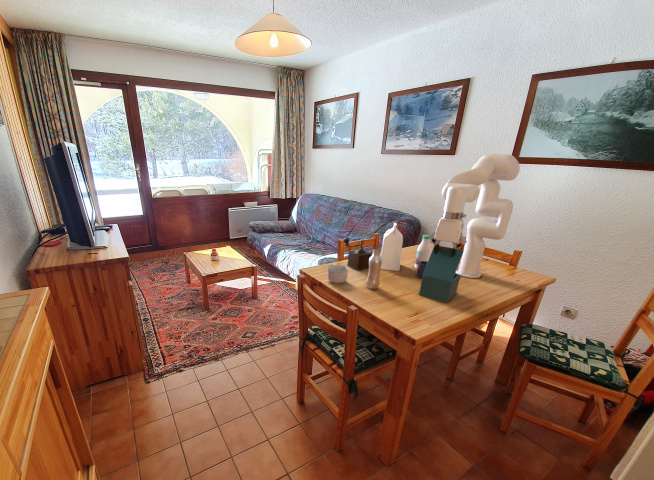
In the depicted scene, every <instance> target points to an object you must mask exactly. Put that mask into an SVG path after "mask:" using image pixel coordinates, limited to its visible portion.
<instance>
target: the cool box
mask: <svg viewBox="0 0 654 480" xmlns="http://www.w3.org/2000/svg"><path fill="white" fill-rule="evenodd" d="M461 277H462V276H461V275H460V274H456V273H455V275H454V278H453V280H452V283H451V282H447V281H443V280H439V279H435V278H431V277H427V276H423V278H421V283H420V288H419V296H422V297H426V298H429V299H433V300H436V301H440V302H443V303H446V304H447V303H449V301H450V300H451V299H452V298H453V297H454V296H455V295H456V294H457V291H458V288H459V284H460V279H461Z"/></svg>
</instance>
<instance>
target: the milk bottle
mask: <svg viewBox="0 0 654 480" xmlns="http://www.w3.org/2000/svg"><path fill="white" fill-rule="evenodd" d="M430 235H431V234H423V235H422V238H421V239H422V241H421V242H420V244H419V245H418V247H417V249H416V256H415V261H414V266H413V267H414V268H415V269H416V270H418V265H419V262H420V261H427V262H428V260H429V258H430V255H431V253H432V250H433V247H432V244H431V241H432V240H431V239H430V238H429V236H430Z"/></svg>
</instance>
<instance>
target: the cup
mask: <svg viewBox="0 0 654 480" xmlns="http://www.w3.org/2000/svg"><path fill="white" fill-rule="evenodd" d="M427 263H428V262H427V261H420V262H419V265H418V269H416V277H417V278H419V279H422V278H423V273H424V271H425V268H426V265H427Z"/></svg>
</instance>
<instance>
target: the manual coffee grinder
mask: <svg viewBox="0 0 654 480" xmlns="http://www.w3.org/2000/svg"><path fill="white" fill-rule="evenodd" d="M342 242H343V243H344V246H345V247H347V248H354V249H352V250H348V254H347V255H348V256H347V265H346V266H347V267H349V268H351V269H353V270H356V271H364V270H369V259H370V257H371V256H372V255H373V254H372V253H373V252H370V251H369V250H367V249H364V248H363V244H364V240H363V239H361V240H360V242H359V243H358V244H355V245H350V242H351V239H350V238H349V237H344V238H343V239H342ZM359 246H360V247H359Z"/></svg>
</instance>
